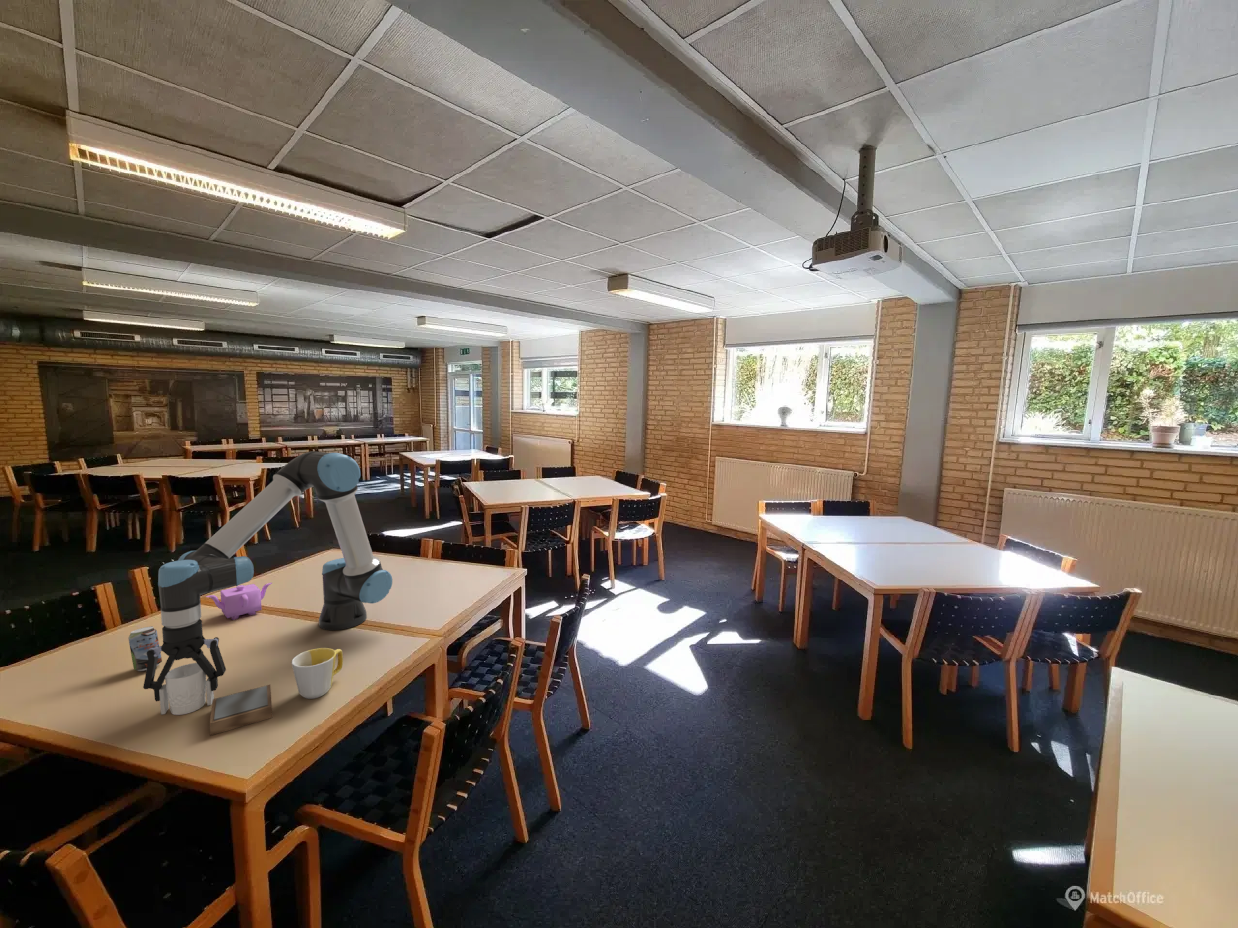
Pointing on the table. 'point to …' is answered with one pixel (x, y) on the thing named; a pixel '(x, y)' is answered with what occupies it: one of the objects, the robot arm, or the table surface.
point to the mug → (316, 671)
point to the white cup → (186, 688)
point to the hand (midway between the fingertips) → (188, 706)
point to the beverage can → (143, 646)
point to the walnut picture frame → (240, 709)
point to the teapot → (240, 600)
